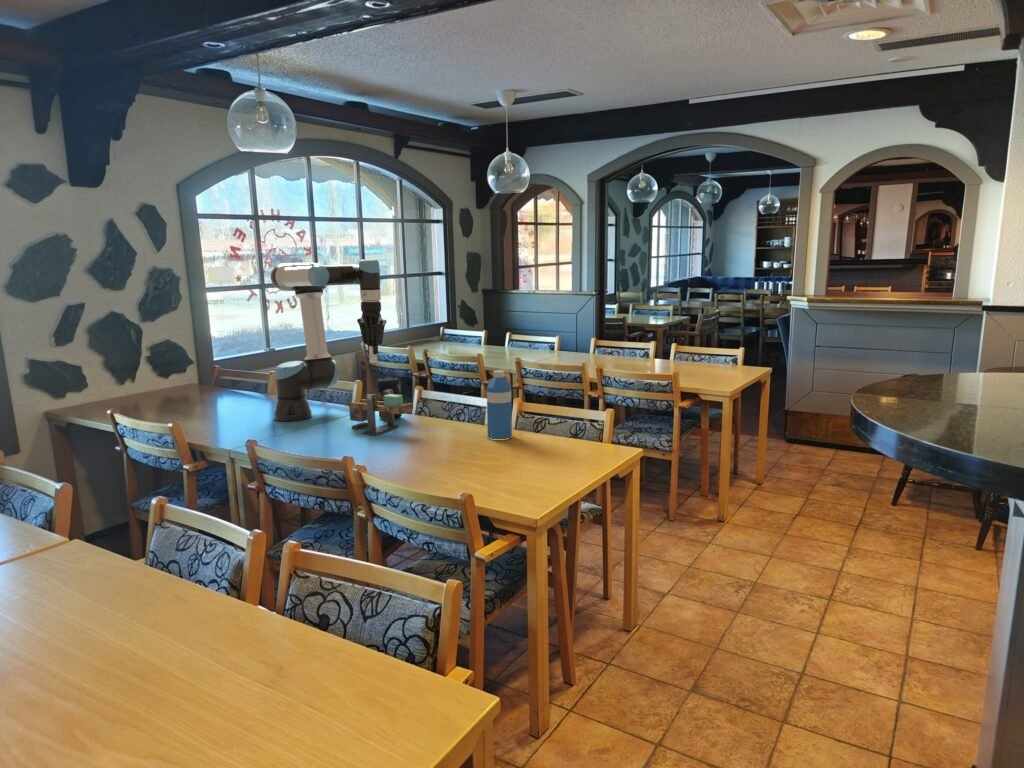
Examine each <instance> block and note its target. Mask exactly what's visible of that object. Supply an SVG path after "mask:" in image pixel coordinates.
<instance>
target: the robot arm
mask: <svg viewBox="0 0 1024 768" xmlns="http://www.w3.org/2000/svg"><path fill="white" fill-rule="evenodd" d="M379 262H380V261H379V260H377V259H360V260H359V261H358V264H355V263H354V264H352V263H351V264H350V263H349V264H336V265H335V264H334V265H332V264H331V265H330V264H329V265H328V264H327V265H325V264H324V265H322V264H320V263H317V262H310V261H308V262H287V263H286V262H284V263H280V264H277V265H276V266H275V267H273V269H272V270H271V273H270V280H271V281H270V282H271V283H272V285H273V286H274V287H275V288H276V289H278V290H281V291H285V292H294V296H295V297H297V298H298V299H299V303H300V310H301V311H300V312H301V318H302V327H303V334H304V340H305V341H304V342H305V349H306V356H305V357H304V359H303V361H301V360H293V361H292V360H291V361H286V362H283V363H280V364H278V365H277V366H276V367H275V369H274V379H275V388H276V403H275V404H276V405H275V411H274V413H273V418H274V420H275V421H276V422H277V421H279V422H296V421H297V422H298V421H303V420H307V419H310V418H311V417H312V409H311V407H310V404H309V402H308V400H307V392H308V391H313V390H321V389H327V388H331V387H334V386H335V385H337V383H338V380H339V378H340V368H339V365H338V362H337V361H336V360H334V359H333V357H332V355H331V354H330V353H329V352H328V346H327V337H326V330H325V323H324V315H323V308H322V300H321V297H322V296H323V295H324V290H325V289H326V288H327V287H328V286H348V285H350V286H351V285H354V286H355V285H359V292H360V293H359V294H360V310H361V313H362V314H361V317H360V318H357V319H356V322H357V323H358V325H359V329H360V334H361V338H362V343H363V344H364V345H367V353H368V356H369V357H368V358H369V363H370V364H376V363H378V354H379V346H380V345H382V344H383V339H384V334H385V333H384V332H385V327H386V324H387V320H386V319H383V318H382V314H381V312H382V302H381V300H382V298H381V297H382V296H381V269H380V263H379Z"/></svg>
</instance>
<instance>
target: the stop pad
mask: <svg viewBox="0 0 1024 768" xmlns="http://www.w3.org/2000/svg"><path fill="white" fill-rule="evenodd" d="M367 426H368V422H367V421H366V422H365V421H363V422H359V423H357V424H354V425H351V430H357V431H358V430H362V429H365V428H368V427H367Z"/></svg>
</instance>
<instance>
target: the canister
mask: <svg viewBox="0 0 1024 768" xmlns="http://www.w3.org/2000/svg"><path fill="white" fill-rule="evenodd" d="M376 384H377V385H376V386H377V387H376V389H377V401H382V402H384V397H383V396H384V395H383V391H385V390H386V389H390V390H393V394H396V395H402V394H401V392H402V391H401V389H402V388H401V379H400V378H398V377H397V376H396V377H395V376H389V375H387V376H384V377H381V378H379V379H377V381H376ZM402 415H403V414H394V419H395V420H397V419H400V418H401V417H402ZM378 417H379V418H380V419H381V420H386V421H387V416H386V412H378Z"/></svg>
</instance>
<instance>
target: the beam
mask: <svg viewBox="0 0 1024 768" xmlns="http://www.w3.org/2000/svg"><path fill="white" fill-rule="evenodd" d="M388 394H389V392H388V391H383V395H384V396H385V395H388ZM372 395H374V400H375V412H378V413H379V412H386V413H394V414H402V415H403V414H407V413H411V412H413V411H414V405H413V404H414V403H413V402H408V403H403V405H402V406H399V408H396V407H387V406H384V402H382V401H378V396H377V393H373V394H372ZM348 404H349V405H348V407H349V420H350V421H353V422H359V423H363V422H365V421H366V422H367V403H366V399H365V398H361V399H359V402H354V401H349V402H348Z"/></svg>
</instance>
